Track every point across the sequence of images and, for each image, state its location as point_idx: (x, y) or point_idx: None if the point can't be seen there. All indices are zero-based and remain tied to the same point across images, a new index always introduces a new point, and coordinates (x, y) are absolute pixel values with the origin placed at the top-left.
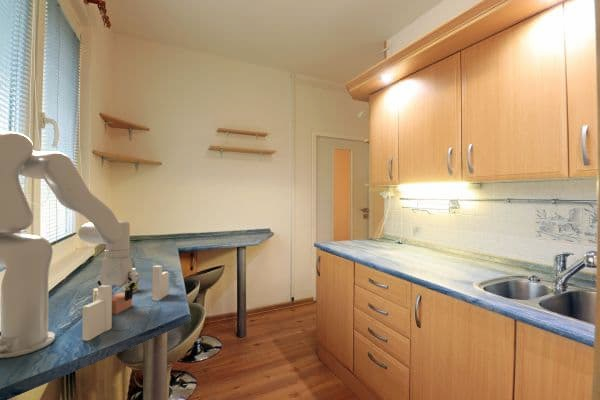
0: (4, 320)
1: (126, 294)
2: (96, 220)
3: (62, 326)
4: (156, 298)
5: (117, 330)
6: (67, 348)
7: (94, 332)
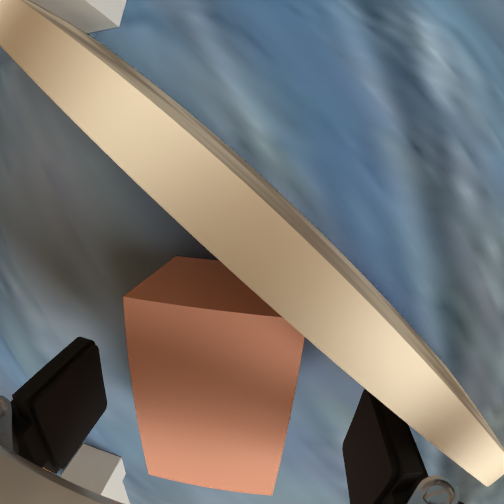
0: None
1: (41, 370)
2: None
3: (429, 33)
4: (91, 456)
5: None
6: None
7: None
